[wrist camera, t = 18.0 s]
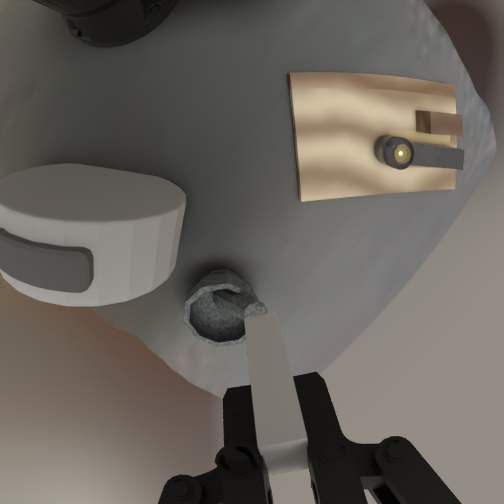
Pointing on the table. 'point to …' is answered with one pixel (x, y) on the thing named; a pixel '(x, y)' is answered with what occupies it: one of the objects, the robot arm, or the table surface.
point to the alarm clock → (88, 233)
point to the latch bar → (416, 154)
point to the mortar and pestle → (221, 308)
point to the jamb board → (367, 132)
